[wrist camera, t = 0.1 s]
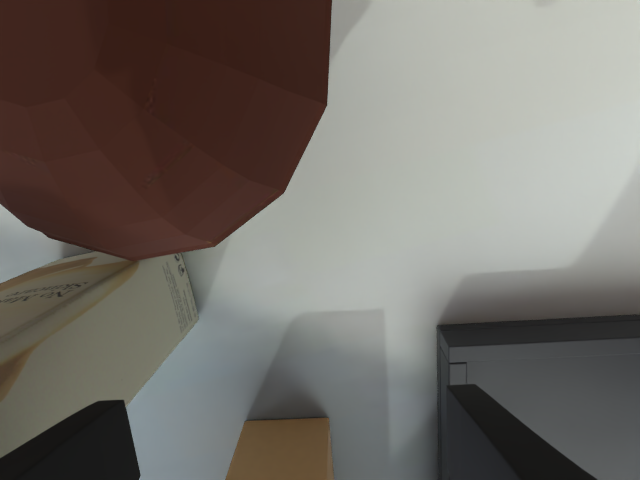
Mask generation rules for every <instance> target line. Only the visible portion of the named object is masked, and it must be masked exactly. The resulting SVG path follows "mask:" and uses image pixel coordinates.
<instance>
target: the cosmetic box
mask: <svg viewBox="0 0 640 480" xmlns="http://www.w3.org/2000/svg"><path fill="white" fill-rule="evenodd" d="M198 319H199V318H198V313H197V310H196V305H195V301H194V297H193V293H192V289H191V286H190V282H189V278H188V275H187V271H186V268H185V264H184V261H183V258H182V255H181V253H176V254H171V255H165V256H159V257H154V258H148V259H143V260H137V261H130V260H126V259H123V258H119V257H115V256H112V255H108V254H105V253H101V252H98V251H96V252H91V253H86V254H82V255H77V256H72V257H68V258H63V259H59V260H56V261H54V262H51V263H49V264H46V265H44V266H42V267H39V268H37V269H34V270H32V271H29V272H27V273H25V274H22V275H20V276H17V277H15V278H13V279H10V280H8V281H6V282H3V283H1V284H0V458H1V457H3V456H4V455H6V454H8V453H9V452H11V451H13V450H14V449H16V448H18V447H19V446H21V445H23V444H24V443H26V442H27V441H29V440H31V439H32V438H34V437H36V436H37V435H39V434H41V433H42V432H44V431H46V430H47V429H49V428H50V427H52V426H54V425H55V424H57V423H59V422H60V421H62V420H64V419H66V418H67V417H69V416H71V415H72V414H74V413H76V412H78V411H79V410H81V409H83V408H85V407H87V406H89V405H91V404H93V403H95V402H97V401H103V400H124V402H125V406H127V405H128V404H129V403H130V402H131V400H132V399H133V398H134V397H135V395H136V394H137V393H138V392H139V391H140V390H141V389H142V387H143V386H144V385H145V384H146V382H147V381H148V380H149V379H150V378H151V377H152V375H153V374H154V373H155V372H156V370H157V369H158V368H159V367H160V366H161V364H162V363H163V362H164V361H165V360H166V358H167V357H168V356H169V355H170V354H171V352H172V351H173V350H174V349H175V348H176V347H177V345H178V344H179V343H180V342H181V341H182V339H183V338H184V337H185V336H186V335H187V333H188V332H189V331H190V330H191V329H192V327H193V326H194V325H195V324H196V323H197V321H198Z"/></svg>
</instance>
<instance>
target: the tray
mask: <svg viewBox="0 0 640 480" xmlns="http://www.w3.org/2000/svg"><path fill="white" fill-rule="evenodd" d="M437 381H438V467H439V480H451V479H450V475H449V471H448V468H447V399H446V385H463V384H476V385H477V386H479V387H480V388H481V389H482V390H484V391H485V392H486V393H487V394H488V395H490V396H491V397H492V398H493V399H495V400H496V401H497V402H498V403H499V404H501V405H502V406H503V407H504V408H505V409H507V410H508V411H509V412H510V413H511V414H513V415H514V416H515V417H516V418H518V419H519V420H520V421H521V422H522V423H524V424H525V425H526V426H527V427H529V428H530V429H531V430H532V431H534V432H535V433H536V434H537V435H539V436H540V437H541V438H543V439H544V440H545V441H546V442H548V443H549V444H550V445H551V446H553V447H554V448H555V449H557V450H558V451H559V452H561V453H562V454H563V455H565V456H566V457H567V458H569V459H570V460H571V461H573V462H574V463H575V464H577V465H578V466H579V467H581V468H582V469H583V470H585V471H586V472H588V473H589V474H590V475H592V476H593V477H595V478H596V479H598V480H640V315H622V316H603V317H585V318H566V319H547V320H528V321H510V322H491V323H472V324H454V325H438V326H437Z"/></svg>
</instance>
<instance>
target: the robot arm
mask: <svg viewBox="0 0 640 480" xmlns="http://www.w3.org/2000/svg"><path fill="white" fill-rule="evenodd" d="M446 399H447V468H448V471H449V475H450V479H451V480H598V479H596V478H595V477H593V476H592V475H590V474H589V473H588V472H586V471H585V470H583V469H582V468H581V467H579V466H578V465H577V464H575V463H574V462H573V461H571V460H570V459H569V458H567V457H566V456H565V455H563V454H562V453H561V452H559V451H558V450H557V449H555V448H554V447H553V446H551V445H550V444H549V443H548V442H546V441H545V440H544V439H543V438H541V437H540V436H539V435H537V434H536V433H535V432H534V431H532V430H531V429H530V428H529V427H527V426H526V425H525V424H524V423H522V422H521V421H520V420H519V419H518V418H516V417H515V416H514V415H513V414H511V413H510V412H509V411H508V410H507V409H505V408H504V407H503V406H502V405H501V404H499V403H498V402H497V401H496V400H495V399H493V398H492V397H491V396H490V395H488V394H487V393H486V392H485V391H484V390H482V389H481V388H480V387H479V386H477V385H476V384H463V385H446ZM139 478H140V470H139V466H138V461H137V457H136V452H135V448H134V443H133V438H132V434H131V429H130V425H129V420H128V415H127V411H126V406H125V402H124V400H103V401H97V402H95V403H93V404H91V405H89V406H87V407H85V408H83V409H81V410H79V411H78V412H76V413H74V414H72V415H71V416H69V417H67V418H66V419H64V420H62V421H60V422H59V423H57V424H55V425H54V426H52V427H50V428H49V429H47V430H46V431H44V432H42V433H41V434H39V435H37V436H36V437H34V438H32V439H31V440H29V441H27V442H26V443H24V444H23V445H21V446H19V447H18V448H16V449H14V450H13V451H11V452H9V453H8V454H6V455H4V456H3V457H1V458H0V480H139Z"/></svg>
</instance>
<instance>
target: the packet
mask: <svg viewBox="0 0 640 480" xmlns="http://www.w3.org/2000/svg"><path fill="white" fill-rule="evenodd" d="M225 480H334V472H333V460H332V449H331V437H330V425H329V418H304V419H279V420H255V421H245V422H244V425H243V428H242V431H241V434H240V437H239V440H238V443H237V446H236V449H235V452H234V455H233V458H232V461H231V464H230V467H229V470H228V473H227V476H226V479H225Z"/></svg>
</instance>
